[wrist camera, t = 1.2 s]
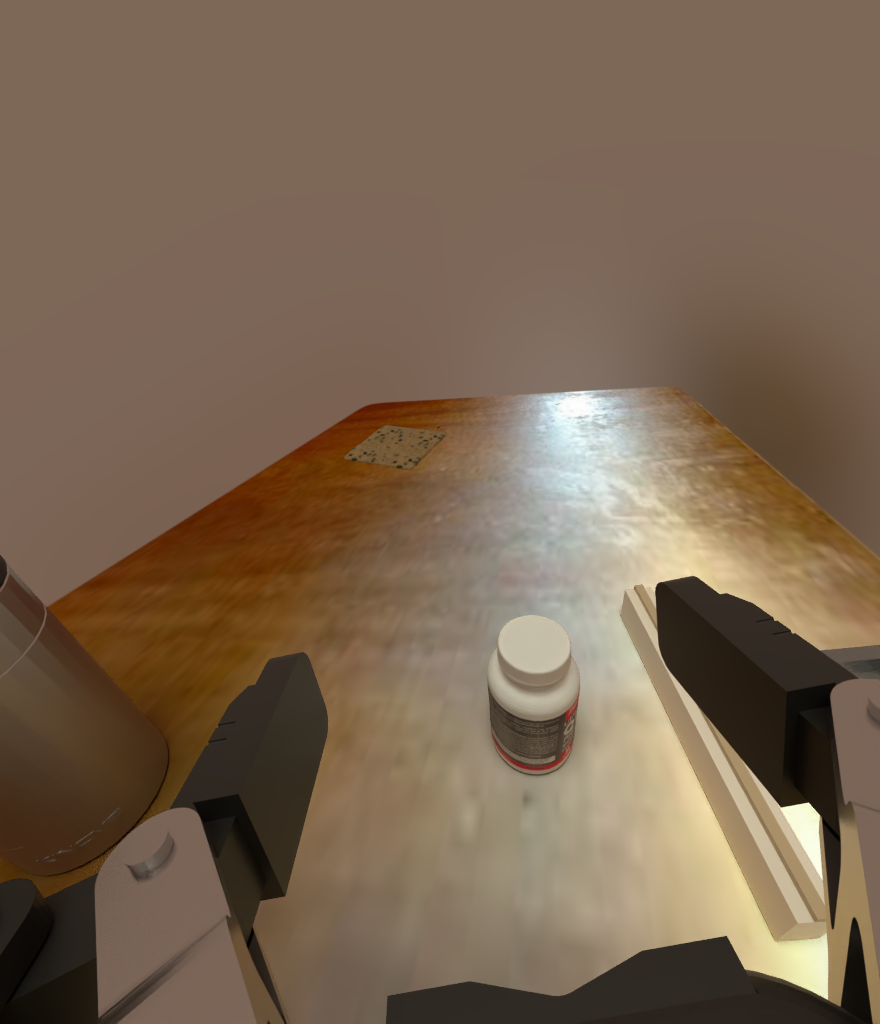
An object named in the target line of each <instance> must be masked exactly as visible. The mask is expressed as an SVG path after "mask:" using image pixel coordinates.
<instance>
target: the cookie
mask: <svg viewBox="0 0 880 1024" xmlns="http://www.w3.org/2000/svg"><path fill="white" fill-rule="evenodd" d="M446 434H447V433H446V432H439V431H429V430H421V429H413V428H406V427H397V426H388V425H385V426H383V427H380V428H379V429H378V430H377V431H376V432H374V433H373V434H372V435H371V436H370V437H369V438H367V439H366V440H365V441H363V442H362V443H361V444H359V445H358V446H356V447H354V448H352V450H351V451H350V452H349V453H348V454H346V456H345V457H344V459H346V460H352V461H358V462H365V463H370V464H377V465H383V466H389V467H395V468H401V469H406V470H411V469H413V468H414V467H415V466H416V465H417V463H419V462H420V461H421V459H422V458H424V457H425V456H426V455H427V454H428V452H429V451H430V450H431V449H432V448H433V447H434V446H435V445H436V444H438V443H439V442H440V441H441V439H442V438H443V437H444V436H445V435H446Z"/></svg>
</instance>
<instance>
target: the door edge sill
mask: <svg viewBox="0 0 880 1024" xmlns="http://www.w3.org/2000/svg"><path fill="white" fill-rule="evenodd" d="M621 617H622V619H623V622H624V624H625V626H626V628H627V630H628V632H629V634H630V636H631V638H632V641H633V643H634V645H635V647H636V649H637V651H638V653H639V655H640V657H641V659H642V662H643V664H644V666H645V668H646V670H647V672H648V674H649V676H650V678H651V681H652V683H653V685H654V687H655V689H656V691H657V693H658V695H659V697H660V700H661V702H662V704H663V706H664V708H665V710H666V712H667V714H668V716H669V718H670V721H671V723H672V725H673V727H674V729H675V731H676V733H677V735H678V737H679V740H680V742H681V744H682V746H683V748H684V750H685V752H686V754H687V756H688V758H689V761H690V763H691V765H692V767H693V769H694V771H695V773H696V775H697V777H698V780H699V782H700V784H701V786H702V788H703V790H704V792H705V794H706V796H707V798H708V801H709V803H710V805H711V807H712V809H713V811H714V813H715V815H716V817H717V820H718V822H719V824H720V826H721V828H722V830H723V832H724V834H725V836H726V839H727V841H728V843H729V845H730V847H731V849H732V851H733V853H734V855H735V857H736V860H737V862H738V864H739V866H740V868H741V870H742V872H743V874H744V876H745V879H746V881H747V883H748V885H749V887H750V889H751V891H752V893H753V895H754V897H755V900H756V902H757V904H758V906H759V908H760V910H761V912H762V914H763V916H764V919H765V921H766V923H767V925H768V927H769V929H770V931H771V933H772V935H773V937H774V940H775V941H785V940H799V939H813V938H820V937H821V936H823V935H824V934H826V933H827V927H826V914H825V901H824V888H823V881H822V879H821V878H820V876H819V874H818V872H817V871H816V869H815V867H814V866H813V864H812V862H811V860H810V859H809V857H808V855H807V854H806V852H805V850H804V849H803V847H802V845H801V843H800V842H799V840H798V838H797V837H796V835H795V833H794V831H793V830H792V828H791V826H790V825H789V823H788V821H787V820H786V818H785V816H784V814H783V813H782V811H781V809H780V808H779V806H778V804H777V802H776V801H775V799H774V798H773V797H772V796H771V795H770V793H769V792H768V791H767V790H766V788H765V787H764V786H763V785H762V784H761V782H760V781H759V780H758V779H757V777H756V776H755V775H754V774H753V773H752V771H751V770H750V769H749V768H748V766H747V765H746V764H745V763H744V762H743V760H742V759H741V758H740V757H739V755H738V754H737V753H736V752H735V751H734V749H733V748H732V747H731V746H730V744H729V743H728V742H727V741H726V740H725V738H724V737H723V736H722V735H721V734H720V732H719V731H718V730H717V729H716V727H715V726H714V725H713V724H712V723H711V721H710V720H709V719H708V718H707V716H706V715H705V714H704V713H703V712H702V710H701V709H700V708H699V707H698V705H697V704H696V703H695V702H694V701H693V699H692V698H691V697H690V696H689V694H688V693H687V692H686V691H685V690H684V688H683V687H682V686H681V685H680V683H679V682H678V681H677V680H676V679H675V677H674V676H673V675H672V674H671V673H670V671H669V670H668V668H667V667H666V665H665V663H664V661H663V658H662V656H661V653H660V649H659V644H658V631H657V613H656V596H655V594H654V592H653V591H652V589H651V587H649V588H644V587H643V585H635V587H634V589H630V590H625V594H624V599H623V605H622V610H621Z"/></svg>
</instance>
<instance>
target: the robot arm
mask: <svg viewBox="0 0 880 1024" xmlns="http://www.w3.org/2000/svg"><path fill="white" fill-rule="evenodd" d="M655 596H656V613H657V631H658V644H659V649H660V653H661V656H662V658H663V661H664V663H665V665H666V667H667V668H668V670H669V671H670V673H671V674H672V675H673V676H674V677H675V679H676V680H677V681H678V682H679V683H680V685H681V686H682V687H683V688H684V690H685V691H686V692H687V693H688V694H689V696H690V697H691V698H692V699H693V701H694V702H695V703H696V704H697V705H698V707H699V708H700V709H701V710H702V712H703V713H704V714H705V715H706V716H707V718H708V719H709V720H710V721H711V723H712V724H713V725H714V726H715V727H716V729H717V730H718V731H719V732H720V734H721V735H722V736H723V737H724V738H725V740H726V741H727V742H728V743H729V744H730V746H731V747H732V748H733V749H734V751H735V752H736V753H737V754H738V755H739V757H740V758H741V759H742V760H743V762H744V763H745V764H746V765H747V766H748V768H749V769H750V770H751V771H752V773H753V774H754V775H755V776H756V777H757V779H758V780H759V781H760V782H761V784H762V785H763V786H764V787H765V788H766V790H767V791H768V792H769V793H770V795H771V796H772V797H773V798H774V799H775V801H776V802H777V803H778V804H779V806H780V807H786V806H792V805H797V804H803V803H808V802H809V803H810V804H811V806H812V807H813V808H814V809H815V810H816V811H817V812H818V813H819V814H820V822H819V836H820V849H821V862H822V875H823V888H824V901H825V914H826V927H827V940H828V1000H827V999H825V998H823V997H821V996H819V995H817V994H815V993H813V992H812V991H810V990H807V989H805V988H802V987H800V986H797V985H795V984H793V983H790V982H788V981H785V980H783V979H780V978H776V977H773V976H769V975H766V974H763V973H759V972H755V971H749V970H745V969H744V967H743V965H742V964H741V962H740V960H739V958H738V956H737V954H736V952H735V951H734V949H733V947H732V945H731V943H730V941H729V939H728V938H727V936H723V937H718V938H712V939H707V940H701V941H695V942H690V943H684V944H678V945H673V946H667V947H661V948H656V949H650V950H644V951H641V952H639V953H638V954H636V955H634V956H633V957H631V958H629V959H628V960H626V961H624V962H622V963H621V964H619V965H617V966H616V967H614V968H612V969H611V970H609V971H607V972H605V973H604V974H602V975H600V976H599V977H597V978H595V979H594V980H592V981H590V982H588V983H587V984H585V985H583V986H582V987H580V988H578V989H576V990H575V991H573V992H571V993H569V994H567V995H564V996H550V995H544V994H538V993H533V992H527V991H521V990H516V989H510V988H504V987H498V986H493V985H487V984H481V983H476V982H464V983H458V984H453V985H447V986H441V987H436V988H430V989H424V990H419V991H413V992H408V993H402V994H396V995H391V996H388V999H387V1017H386V1024H880V680H878V679H859V678H858V677H856V676H855V675H854V674H852V673H851V672H849V671H848V670H846V669H845V668H844V667H842V666H841V665H839V664H838V663H837V662H835V661H834V660H832V659H831V658H830V657H828V656H827V655H825V654H824V653H822V652H821V651H820V650H818V649H817V648H815V647H814V646H813V645H811V644H810V643H808V642H807V641H805V640H804V639H803V638H801V637H800V636H798V635H797V634H796V633H794V634H792V633H791V630H790V629H788V628H787V627H786V626H784V625H783V624H781V623H780V622H779V621H774V619H773V617H772V616H770V615H769V614H767V613H766V612H764V611H763V610H762V609H760V608H759V607H757V606H756V605H755V604H753V603H751V602H748V601H745V600H743V599H740V598H738V597H735V596H732V595H730V594H727V593H725V594H719V593H717V592H716V591H715V590H713V589H712V588H711V587H709V586H708V585H707V584H705V583H704V582H703V581H701V580H700V579H699V578H697V577H695V576H690V577H685V578H680V579H675V580H670V581H665V582H660V583H658V584H657V586H656V590H655ZM327 732H328V716H327V710H326V706H325V703H324V700H323V697H322V694H321V691H320V688H319V686H318V683H317V680H316V677H315V674H314V671H313V668H312V665H311V662H310V660H309V658H308V656H307V655H306V654H305V653H304V652H302V653H297V654H292V655H287V656H281V657H276V658H271V659H270V660H269V661H268V662H267V664H266V665H265V667H264V669H263V671H262V673H261V675H260V677H259V679H258V681H257V682H256V684H255V685H251V686H248V687H247V688H246V689H245V690H244V691H243V692H242V693H241V694H240V695H239V696H238V697H237V698H236V699H235V700H234V701H233V702H232V703H231V704H230V705H229V707H228V708H227V710H226V712H225V714H224V715H223V717H222V719H221V721H220V722H219V724H218V728H216V729H215V731H214V733H213V734H212V736H211V738H210V740H209V741H208V742H209V745H208V746H206V747H205V748H204V750H203V752H202V754H201V755H200V757H199V759H198V761H197V762H196V764H195V766H194V768H193V769H192V771H191V773H190V774H189V776H188V778H187V780H186V781H185V783H184V785H183V787H182V788H181V790H180V792H179V794H178V795H177V797H176V799H175V801H174V802H173V804H172V806H171V808H170V809H169V810H167V811H165V812H162V813H160V814H158V815H156V816H154V817H152V818H150V819H148V820H147V821H145V822H144V823H142V824H141V825H139V826H138V827H137V828H135V829H134V830H133V831H132V832H131V833H129V834H128V835H127V836H126V837H125V838H124V839H123V840H122V841H121V842H120V843H119V844H118V845H117V846H116V847H115V849H114V850H113V851H112V852H111V854H110V855H109V856H108V858H107V859H106V861H105V862H104V864H103V866H102V867H101V869H100V872H99V873H97V874H95V875H93V876H91V877H89V878H87V879H85V880H83V881H81V882H78V883H76V884H74V885H72V886H70V887H68V888H66V889H64V890H61V891H59V892H57V893H55V894H53V895H51V896H49V897H47V898H43V896H42V895H41V893H40V892H39V890H38V889H37V888H36V886H35V885H34V884H33V882H32V881H30V880H28V879H14V880H10V881H7V882H3V883H1V884H0V1024H290V1021H289V1018H288V1015H287V1013H286V1010H285V1007H284V1004H283V1001H282V999H281V996H280V993H279V990H278V988H277V985H276V982H275V979H274V976H273V974H272V971H271V968H270V965H269V963H268V960H267V957H266V954H265V952H264V949H263V946H262V943H261V940H260V938H259V935H258V932H257V930H256V928H255V926H254V924H253V923H254V920H255V916H256V913H257V910H258V907H259V903H260V901H262V900H267V899H273V898H278V897H284V896H285V895H286V891H287V888H288V884H289V880H290V876H291V872H292V868H293V864H294V861H295V857H296V853H297V849H298V845H299V841H300V838H301V834H302V830H303V826H304V822H305V818H306V814H307V811H308V807H309V803H310V799H311V795H312V791H313V788H314V784H315V780H316V776H317V772H318V768H319V764H320V761H321V757H322V753H323V749H324V745H325V741H326V738H327ZM167 764H168V748H167V744H166V741H165V739H164V738H163V736H162V735H161V733H160V732H159V731H158V730H157V729H156V727H155V726H154V725H153V724H152V723H151V722H150V721H149V720H148V719H147V718H146V716H145V715H144V714H143V713H142V712H141V711H140V710H139V709H138V708H137V706H136V705H135V704H134V703H133V702H132V700H131V699H130V698H129V697H128V696H127V695H126V694H125V693H124V692H123V691H122V689H121V688H120V687H119V686H118V685H117V684H116V683H115V682H114V681H113V679H112V678H111V677H110V676H109V675H108V674H107V673H106V672H105V671H104V670H103V668H102V667H101V666H100V665H99V664H98V663H97V662H96V661H95V660H94V659H93V657H92V656H91V655H90V654H89V653H88V652H87V651H86V650H85V649H84V647H83V646H82V645H81V644H80V643H79V642H78V641H77V640H76V639H75V638H74V636H73V635H72V634H71V633H70V632H69V631H68V630H67V629H66V628H65V626H64V625H63V624H62V623H61V622H60V621H59V620H58V619H57V618H56V617H55V615H54V614H53V613H52V612H51V611H50V610H49V609H48V608H47V607H46V606H45V604H44V603H42V601H41V600H40V599H39V598H38V597H37V596H36V595H35V594H34V593H33V592H32V591H31V589H30V588H29V587H28V586H27V585H26V584H25V583H24V582H23V581H22V580H21V578H20V577H19V576H18V575H17V574H16V573H15V572H14V571H13V569H12V568H11V567H10V566H9V565H8V564H7V563H6V562H5V560H4V559H3V558H2V557H1V555H0V858H2V859H4V860H5V861H7V862H9V863H11V864H13V865H15V866H17V867H19V868H21V869H23V870H25V871H27V872H29V873H31V874H34V875H45V876H47V875H53V874H59V873H64V872H66V871H69V870H71V869H74V868H76V867H79V866H81V865H83V864H85V863H87V862H88V861H90V860H92V859H94V858H95V857H97V856H99V855H100V854H102V853H103V852H104V851H106V850H107V849H108V848H109V847H111V846H112V845H113V844H115V843H116V842H117V841H118V840H119V839H120V838H121V837H122V836H124V835H125V834H126V833H127V832H128V831H129V830H130V829H131V828H132V827H133V826H134V825H135V823H136V822H137V821H138V820H139V818H140V817H141V816H142V815H143V814H144V812H145V811H146V810H147V808H148V807H149V805H150V804H151V802H152V800H153V799H154V797H155V796H156V794H157V792H158V790H159V788H160V786H161V783H162V781H163V779H164V776H165V772H166V768H167Z"/></svg>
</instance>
